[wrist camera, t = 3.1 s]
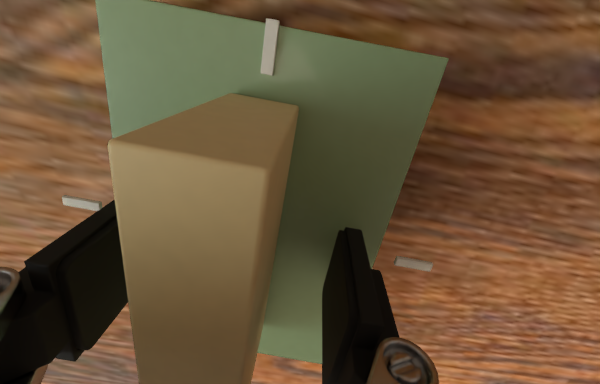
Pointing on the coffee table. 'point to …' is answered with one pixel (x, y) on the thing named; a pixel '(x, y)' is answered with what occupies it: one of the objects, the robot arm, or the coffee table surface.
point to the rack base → (308, 136)
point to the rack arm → (201, 234)
